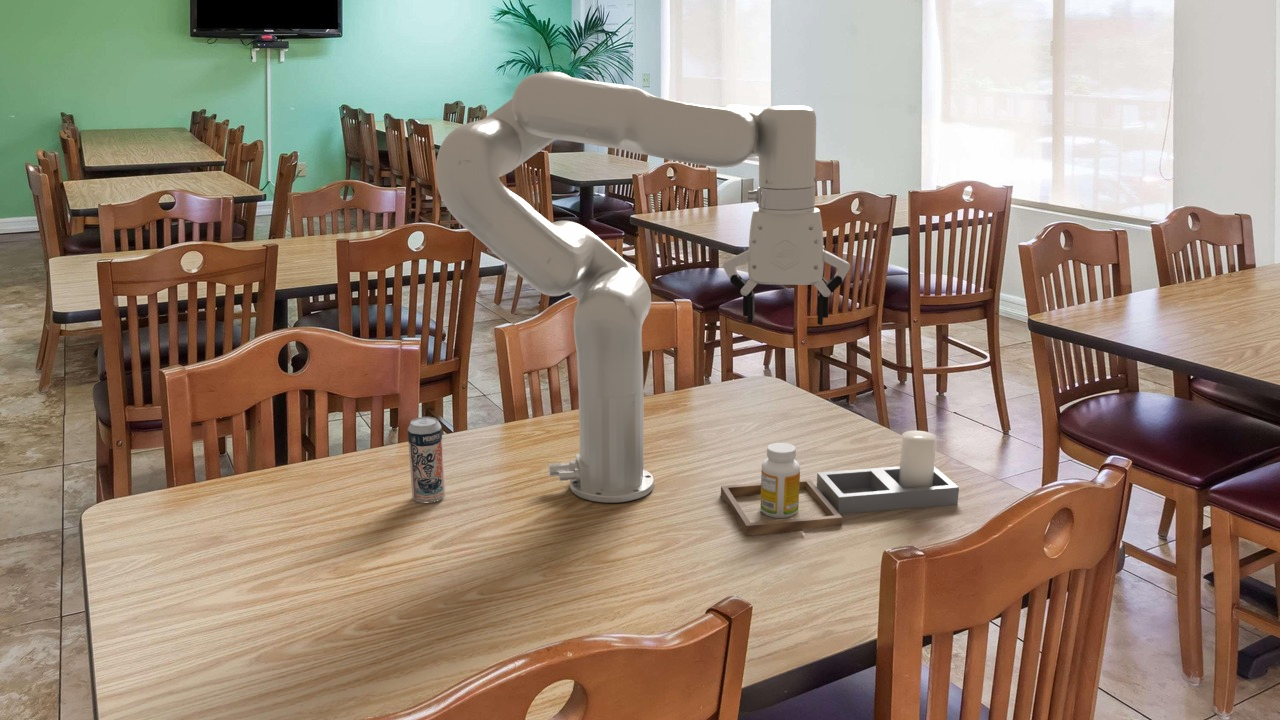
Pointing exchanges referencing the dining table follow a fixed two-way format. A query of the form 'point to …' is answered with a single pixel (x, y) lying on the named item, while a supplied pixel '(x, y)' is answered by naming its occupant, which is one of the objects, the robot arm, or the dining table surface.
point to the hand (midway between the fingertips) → (785, 321)
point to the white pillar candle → (917, 459)
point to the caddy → (882, 490)
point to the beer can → (426, 459)
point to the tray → (779, 525)
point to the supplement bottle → (780, 481)
